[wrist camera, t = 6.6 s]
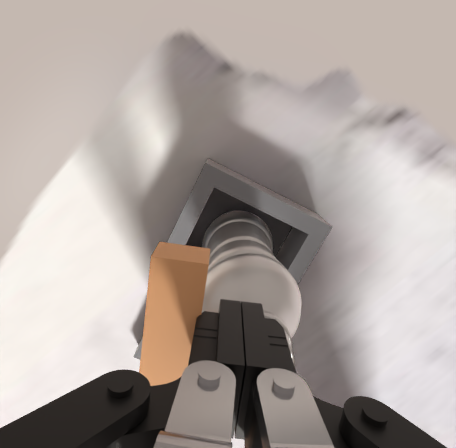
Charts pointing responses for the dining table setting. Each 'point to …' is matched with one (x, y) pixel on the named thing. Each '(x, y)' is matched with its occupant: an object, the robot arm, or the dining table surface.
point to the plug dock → (264, 201)
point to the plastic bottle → (249, 270)
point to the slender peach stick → (172, 309)
